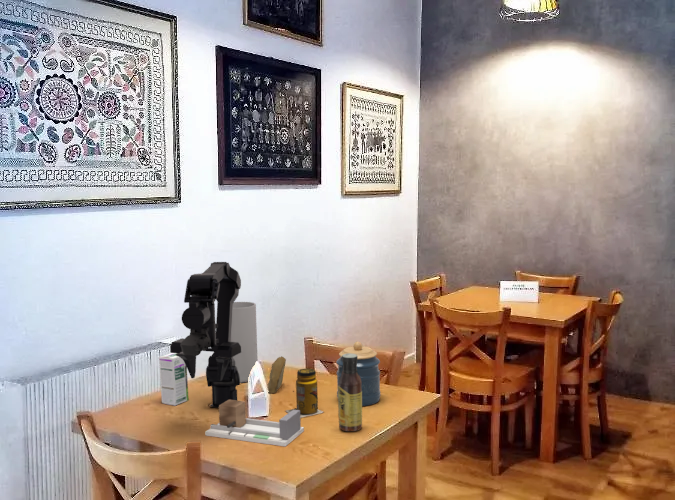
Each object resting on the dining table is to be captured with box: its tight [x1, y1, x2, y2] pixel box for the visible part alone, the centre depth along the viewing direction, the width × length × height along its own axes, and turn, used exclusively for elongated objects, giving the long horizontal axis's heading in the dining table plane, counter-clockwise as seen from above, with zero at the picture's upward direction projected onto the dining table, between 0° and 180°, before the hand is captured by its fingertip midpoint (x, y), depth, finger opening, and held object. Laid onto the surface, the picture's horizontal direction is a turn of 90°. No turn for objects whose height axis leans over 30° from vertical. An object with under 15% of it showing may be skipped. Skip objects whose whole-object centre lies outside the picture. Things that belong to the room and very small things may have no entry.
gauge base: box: [204, 409, 305, 447], centre depth 172 cm, size 23×11×6 cm, turn 68°
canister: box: [336, 341, 381, 407], centre depth 197 cm, size 13×13×18 cm
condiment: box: [285, 368, 324, 419], centre depth 187 cm, size 7×8×12 cm
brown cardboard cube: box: [218, 399, 247, 428], centre depth 173 cm, size 5×8×6 cm, turn 158°
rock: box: [267, 356, 287, 394], centre depth 210 cm, size 11×9×10 cm
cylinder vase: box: [231, 301, 258, 384], centre depth 222 cm, size 12×12×25 cm
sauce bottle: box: [337, 353, 363, 432], centre depth 173 cm, size 6×6×20 cm
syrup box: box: [158, 352, 189, 407], centre depth 198 cm, size 6×6×14 cm
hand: (206, 379), depth 176 cm, fingers open, 8 cm apart
